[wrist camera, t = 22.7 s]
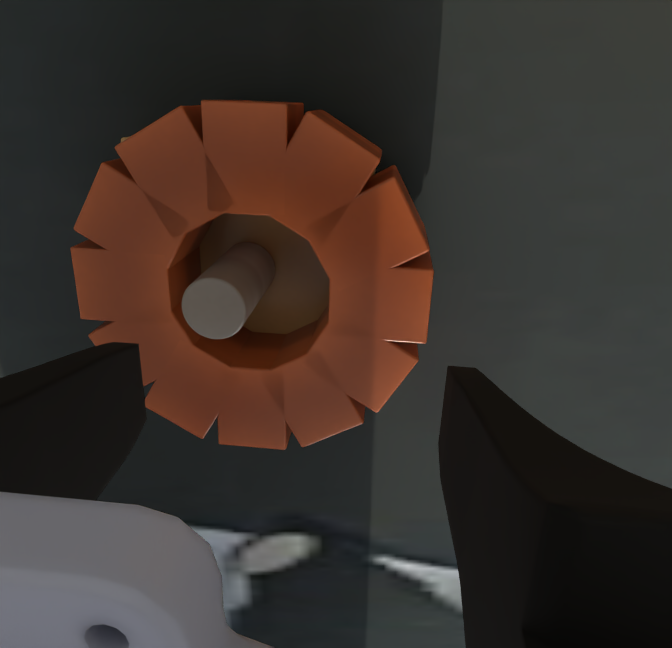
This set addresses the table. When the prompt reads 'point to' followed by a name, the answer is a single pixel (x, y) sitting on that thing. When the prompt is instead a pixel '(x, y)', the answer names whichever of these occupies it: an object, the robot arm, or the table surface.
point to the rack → (254, 279)
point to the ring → (295, 213)
